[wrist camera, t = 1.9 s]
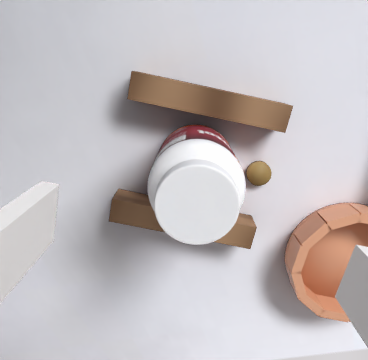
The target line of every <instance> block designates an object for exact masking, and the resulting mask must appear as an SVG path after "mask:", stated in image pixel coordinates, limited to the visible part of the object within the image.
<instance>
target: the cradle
mask: <svg viewBox="0 0 368 360" xmlns="http://www.w3.org/2000/svg"><path fill="white" fill-rule="evenodd" d="M127 99H129V100H134V101H138V102H143V103H148V104H153V105H157V106H162V107H167V108H171V109H176V110H181V111H185V112H190V113H195V114H200V115H204V116H209V117H214V118H218V119H223V120H228V121H232V122H237V123H242V124H247V125H251V126H256V127H261V128H265V129H270V130H275V131H279V132H284V133H285V131H286V128H287V125H288V121H289V118H290V115H291V111H292V108H293V106H291V105H288V104H285V103H280V102H275V101H271V100H266V99H262V98H257V97H252V96H248V95H243V94H239V93H234V92H229V91H225V90H220V89H215V88H211V87H206V86H202V85H197V84H192V83H188V82H183V81H179V80H174V79H169V78H165V77H160V76H155V75H151V74H146V73H142V72H137V71H132V72H131V79H130V85H129V92H128V98H127ZM246 175H247V178H248V180H249V181H250V182H251V183H252V184H254V185H257V186H260V185H264V184H266V183H267V182H268V181H269V180H270V178H271V169H270V168H269V166H268V165H267V164H266V163H264V162H262V161H255V162H253V163H251V164H250V165H249V166H248V168H247V171H246ZM109 221H110V222H115V223H120V224H126V225H131V226H136V227H141V228H146V229H151V230H156V231H161V232H165V231H164V230H163V229H162V228H161V226H160V225H159V223H158V221H157V218H156V215H155V212H154V210H153V208H152V206H151V203H150V201H149V197H148V195H146V194H141V193H137V192H132V191H127V190H122V189H118V191H117V192H116V194H115V195H114V197H113V198H112V203H111V210H110V216H109ZM256 228H257V227H256V225H255V223H254V221H253V218H252V216H251V215H246V214H241V213H239V215H238V218H237V221H236V223H235V224H234V226H233V227H232V229H231V230H230V231H229V232H228V233H227V234H226V235H225V236H223V237H222V238H220V239H218V240H216V241H214V242H217V243H222V244H227V245H232V246H237V247H242V248H247V249H250V248H251V245H252V242H253V238H254V235H255V232H256Z"/></svg>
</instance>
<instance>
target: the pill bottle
mask: <svg viewBox="0 0 368 360" xmlns="http://www.w3.org/2000/svg"><path fill="white" fill-rule="evenodd" d="M245 192H246V182H245V176H244V173H243V170H242V168H241V165H240V164H239V162H238V160H237V158H236V156H235V155H234V153H233V151H232V150H231V148H230V146H229V144H228V142H227V141H226V139H225V138H224V137H223V136H222V135H221V134H220V133H219V132H217V131H216V130H214V129H212V128H210V127H208V126H204V125H187V126H183V127H181V128H179V129H177V130H175V131H174V132H173V133H171V134H170V135H169V136H168V137H167V138H166V140H165V141H164V143H163V144H162V146H161V148H160V151H159V153H158V155H157V157H156V160H155V162H154V164H153V166H152V169H151V171H150V174H149V178H148V197H149V201H150V203H151V206H152V208H153V210H154V212H155V215H156V218H157V221H158V223H159V225H160V226H161V228H162V229H163V230H164V231H165V232H166V233H167V234H168V235H169V236H170V237H172V238H173V239H175V240H177V241H179V242H182V243H185V244H191V245H203V244H208V243H211V242H214V241H216V240H218V239H220V238H222V237H223V236H225V235H226V234H227V233H228V232H229V231H230V230H231V229H232V227H233V226H234V224H235V223H236V221H237V218H238V215H239V211H240V208H241V207H242V204H243V201H244V198H245Z"/></svg>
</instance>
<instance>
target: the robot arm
mask: <svg viewBox="0 0 368 360" xmlns="http://www.w3.org/2000/svg"><path fill="white" fill-rule="evenodd" d="M58 194H59V184H55V183H50V182H45V181H41V182H39V183H38V184H36V185H35V186H33V187H32V188H30V189H29V190H27V191H26V192H24V193H23V194H22V195H20V196H19V197H17V198H16V199H14V200H13V201H11V202H10V203H8V204H7V205H5V206H4V207H2V208H1V209H0V304H1V303H2V302H3V300H4V299H5V298H6V297H7V296H8V295H9V293H10V292H11V291H12V290H13V289H14V288H15V286H16V285H17V284H18V283H19V282H20V281H21V279H22V278H23V277H24V276H25V275H26V273H27V272H28V271H29V270H30V269H31V268H32V266H33V265H34V264H35V263H36V262H37V261H38V259H39V258H40V257H41V256H42V255H43V253H44V252H45V251H46V250H47V249H48V248H49V246H50V245H51V244H52V243H53V242H54V233H55V223H56V213H57V203H58ZM335 298H336V299H337V301H338V303H339V304H340V306H341V307H342V309H343V310H344V312H345V313H346V315H347V316H348V318H349V320H350V321H351V323H352V324H353V326H354V327H355V329H356V330H357V332H358V333H359V335H360V337H361V338H362V340H363V341H364V343H365V344H366V346H367V347H368V247H366V246H361V245H355V247H354V250H353V252H352V255H351V257H350V260H349V262H348V265H347V267H346V270H345V272H344V275H343V277H342V280H341V282H340V285H339V287H338V290H337V292H336V295H335Z"/></svg>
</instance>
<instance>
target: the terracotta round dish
mask: <svg viewBox="0 0 368 360" xmlns="http://www.w3.org/2000/svg"><path fill="white" fill-rule="evenodd" d="M355 245H361V246H366V247H368V206H367V205H363V204H359V203H337V204H333V205H329V206H326V207H323V208H321V209H319V210H317V211H315V212H313V213H312V214H310V215H309V216H307V217H306V218H305V219H304V220H302V221H301V222H300V224H299V225H298V226H297V227H296V228H295V230H294V231H293V232H292V234H291V236H290V238H289V240H288V243H287V246H286V250H285V258H284V259H285V260H284V261H285V266H286V270H287V273H288V275H289V279H290V283H291V285H292V287H293V289H294V291H295V293H296V296H297V298H298V299H299V300H300V301H301V302H302V303H303V304H305V305H306V306H307V307H308V308H309V309H310V310H312V311H313V312H314V313H315V314H316V315H318V316H320V317H323V318H328V319H333V320H339V321H344V322H348V321H349V322H351V321H350V320H349V318H348V316H347V315H346V313H345V312H344V310H343V309H342V307H341V306H340V304H339V303H338V301H337V299H336V298H335V295H336V292H337V290H338V287H339V285H340V282H341V280H342V277H343V275H344V272H345V270H346V267H347V265H348V262H349V260H350V257H351V255H352V252H353V250H354V247H355Z"/></svg>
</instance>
